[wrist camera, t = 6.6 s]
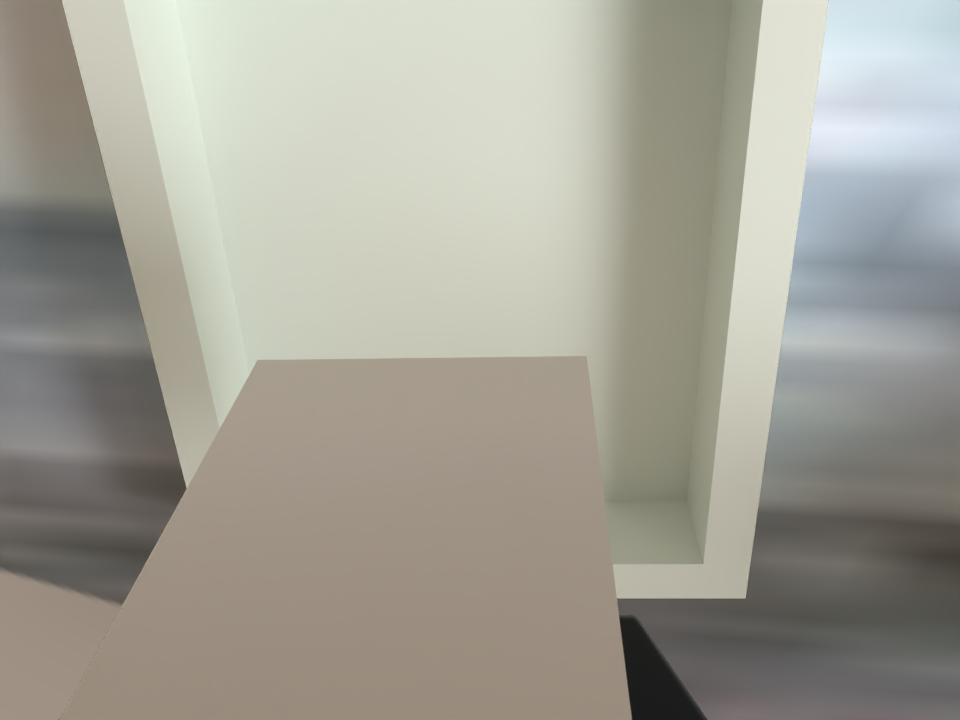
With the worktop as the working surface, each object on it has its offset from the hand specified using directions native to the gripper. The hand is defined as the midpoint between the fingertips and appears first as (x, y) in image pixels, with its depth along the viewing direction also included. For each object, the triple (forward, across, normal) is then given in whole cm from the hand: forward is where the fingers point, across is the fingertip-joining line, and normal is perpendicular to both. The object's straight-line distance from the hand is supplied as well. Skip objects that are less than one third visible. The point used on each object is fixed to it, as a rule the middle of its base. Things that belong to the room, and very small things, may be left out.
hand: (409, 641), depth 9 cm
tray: (+11, 0, 0) cm, 11 cm away
